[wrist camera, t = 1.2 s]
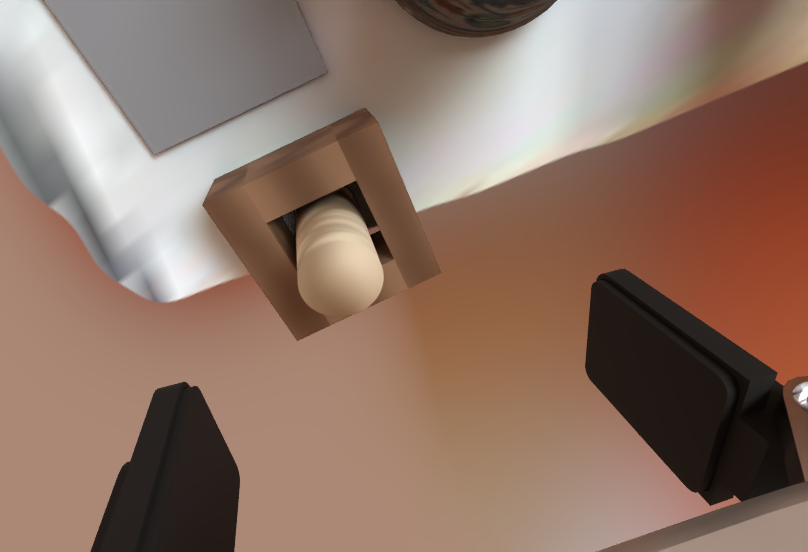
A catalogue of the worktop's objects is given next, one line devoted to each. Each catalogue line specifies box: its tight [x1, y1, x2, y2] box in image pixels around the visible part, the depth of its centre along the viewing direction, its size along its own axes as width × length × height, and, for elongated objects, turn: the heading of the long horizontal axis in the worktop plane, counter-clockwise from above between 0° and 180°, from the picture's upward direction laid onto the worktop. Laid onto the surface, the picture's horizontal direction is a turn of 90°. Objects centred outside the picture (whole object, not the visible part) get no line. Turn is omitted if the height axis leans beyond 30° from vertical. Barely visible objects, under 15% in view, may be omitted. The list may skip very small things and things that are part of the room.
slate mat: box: [44, 0, 328, 155], centre depth 30 cm, size 14×14×1 cm
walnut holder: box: [203, 108, 441, 341], centre depth 36 cm, size 13×13×6 cm
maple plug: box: [295, 187, 384, 317], centre depth 34 cm, size 5×5×12 cm
